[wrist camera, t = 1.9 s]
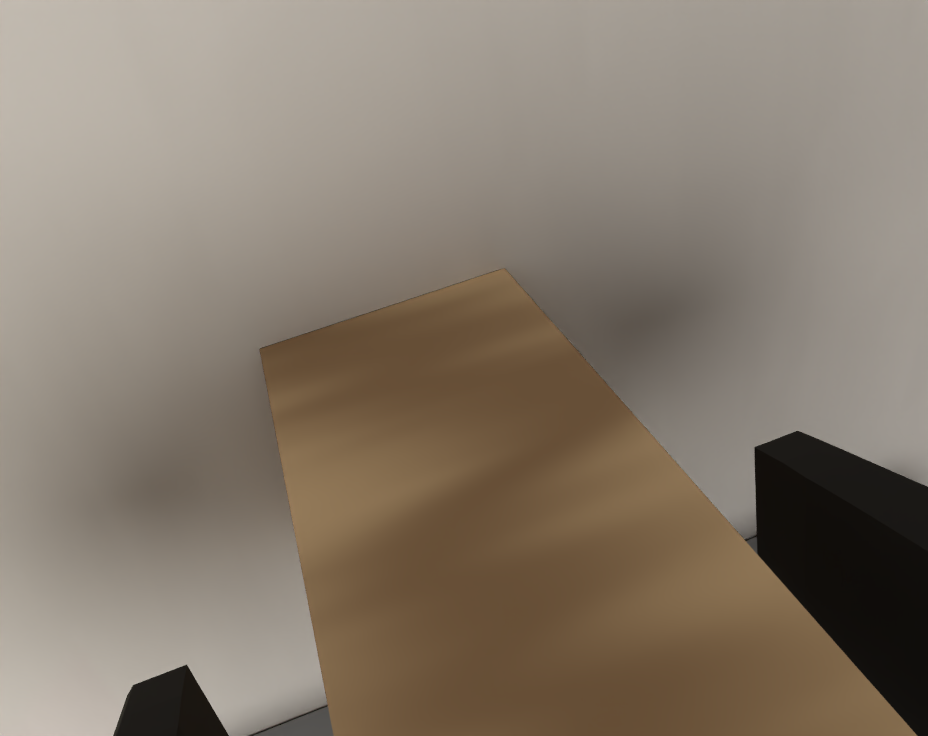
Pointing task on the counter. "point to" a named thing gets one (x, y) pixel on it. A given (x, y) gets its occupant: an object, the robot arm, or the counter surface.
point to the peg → (526, 545)
